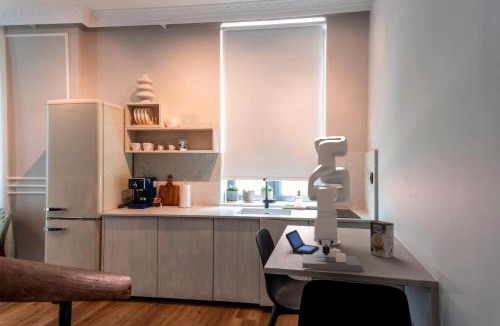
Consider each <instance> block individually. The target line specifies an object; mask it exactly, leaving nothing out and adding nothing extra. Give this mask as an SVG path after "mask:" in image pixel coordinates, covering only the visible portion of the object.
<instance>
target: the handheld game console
mask: <svg viewBox="0 0 500 326" xmlns="http://www.w3.org/2000/svg"><path fill="white" fill-rule="evenodd" d="M285 238H286V240H287V242H288V244H289V245H290V247H291V250H292V254H300V255H303V254H308V255H313V253H315V252H316V251H318V250H320V249H319V248H320V247H319V245H312V244H311V245H310V244H306V243H305V242H304V241H303V239H302V238H301V235H300V233H299V232H298V230H296V229H294V230H292V231H290V232H288V233H285Z"/></svg>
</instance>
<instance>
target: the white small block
mask: <svg viewBox="0 0 500 326" xmlns="http://www.w3.org/2000/svg"><path fill="white" fill-rule="evenodd" d="M346 256H347V255H346V253H342V252H341V251H340V252H339V253H336V262H346Z"/></svg>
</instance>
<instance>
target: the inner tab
mask: <svg viewBox="0 0 500 326" xmlns="http://www.w3.org/2000/svg"><path fill="white" fill-rule="evenodd" d="M339 252H341V250H340V249H339V248H336V247H333V248H329V255H330V256H331V257H334V258H336V253H339Z"/></svg>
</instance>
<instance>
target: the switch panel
mask: <svg viewBox="0 0 500 326" xmlns="http://www.w3.org/2000/svg"><path fill="white" fill-rule="evenodd" d="M303 268H311V269H310V270H316V269H326V270H325V271H340V270H342V272H343V271H345V272H362V264H361V262H360V260H359V258H358V256H357V255H346V262H336V258H334V257H331V256H330V254H328V256H327V255H326V256H324V254H310V255H308V254H302V269H303Z"/></svg>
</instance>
